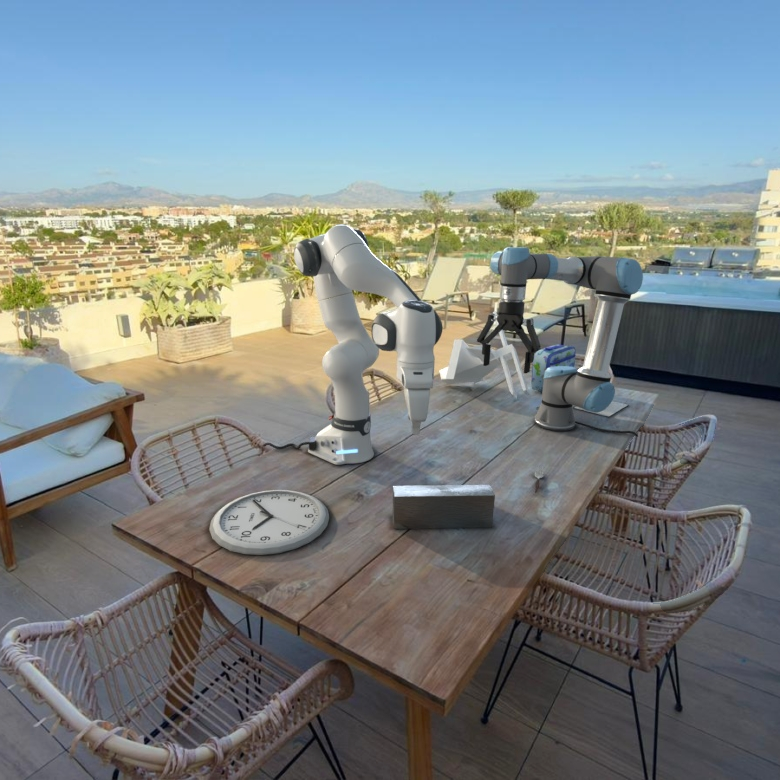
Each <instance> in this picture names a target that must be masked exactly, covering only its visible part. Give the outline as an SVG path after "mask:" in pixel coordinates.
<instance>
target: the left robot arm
mask: <svg viewBox="0 0 780 780" xmlns="http://www.w3.org/2000/svg"><path fill="white" fill-rule="evenodd" d="M293 257H294V258H293V259H294V263H295V266H296V267H297V269H298V271H299V272H300V274H302V275H303V276H305V277H313V284H314V290H315V295H316V300H317V303H318V306H319V310H320V313H321V316H322V320H323V324H324V326H325V327H326V328H327V329H328V330H330V332H331V333H332V334H333V335H334V337H335V339H336V341H337V344H335V345H333V346H332V347H331V348H329V349H328V350H327V351H326V352H325V354H324V355H323V357H322V360H321V365H322V370H323V372H324V374H325V375H326V376H327V377H328V378H330V381H331V384H332V387H333V392H334V409H335V411H334V413H332V415H330V416H329V417H328V421H330V420H331V422H330V423H329V424H328V425H327V426H325V427H324V428H323V429H321V430H320V431H318V432H317V434H316V436H310V438H309V440H308V441H304V442H303V441H302V442H300V443H299V444H298V445H297V444H295V443H287V444H285V445H282V446H278V445H275V444H273V443H271V442H265V443H263V444H262V447H266V446H269V447H272V448H273V449H275V450H284V449H286V448H289V447H293V448H295V449H296V450H299V449H301V447H302V446H306V445H308V449H307V453H309V454H311V455H313V456H315V457H318V458H319V459H322V460H324V461H326V462H329V463H331V464H333V465H335V466H341V465H345V464H348V465H349V464H361V463H365V462H367V461H370V460H371V459H372V458H373V457H374V456H375V452H374V449H373V445H372V440H371V427H372V426H371V425H372V424H371V423H372V422H371V421H372V419H371V413H370V391H369V390H368V388H367V387H366V386H365V382H364V381H365V380H364V376H363V375H364V374H363V373H364V372H365V371H366V370H368V369H370V368H371V367H372V366H373V365H374V364H375V363H376V362H377V360H378V358H379V355H380V350H381V351H383V352H396V354H397V356H396V379H397V381H399V382H400V383H401V386H402V387H403V395H404V400H405V405H406V409H407V419H408V420H409V421H410V422H411V434H412V435H413V436H414V435H416V436H418V435H420V433H421V426H422V425H421V424H422V423H425V422H426V421H427V419H428V412H429V405H430V398H431V397H430V396H431V389H433V388H434V380H435V365H436V363H435V362H436V361H435V360H436V359H435V358H436V357H435V353H434V348H435V346H436V344H437V343H438V342H439V341H440V339H441V337H442V334H443V327H444V326H443V321H442V319H441V317H440V315H439V314H438V313H437V312H436V311H435V310H434V307H433V306H432V305H431V304H430V303H428V302H426V301H423V300H422V299H421V298H420V297H419V296H418V294H417V293H416V292H415V291H414V290H413V289H412V288H411V287H410V285H409V284H408V283H407V282H406V281H405V280H404V279H403V277H401V275H399V273H397V272H396V271H395V270H393V269H392V268H391V267H389V266H388V265H387V264H385V263H383V262H382V261H381V260H380V259H379V258H378V257H376V255H375V254H374V253H373V252H372V251H371V250H370V247H369V242H368V239H367V237H366V235H365V233H364V232H363V231H361V229H358V228H352V227H351V226H349V225H346V224H337V225H334V226H332V227H330V228H329V229H328V230H327V231H326V233H323V234H320V235H317V236H314V237H311V238H303V239H302V240H300V241H298V242H297V243H296V244H295V247H294V251H293ZM353 291H355V292H360V293H368V294H373V295H377V296H380V297H383V298H386V299H388V300H389V301H390V302H391V303H393V304H394V306H395V307H396V308H394V309H392V310H389V311H384V312H382V313H379V314H377V315H376V316H375V318H374V319H373V321H372V325H371V331H370V332H371V333H370V334H371V336H370V334H369V332H368V330H367V329H366V327H365V325H364V323H363V321H362V319H361V316H360V314H359V311H358V306H357V302H356V300H355V296H354V293H353Z"/></svg>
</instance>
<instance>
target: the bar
mask: <svg viewBox="0 0 780 780" xmlns="http://www.w3.org/2000/svg"><path fill="white" fill-rule="evenodd" d="M495 499H496V494H495V492H494V490H493V489H492V487H491V485H490V484H445V485H444V484H441V485H393V486H392V516H391V517H392V528H393V530H417V529H418V530H420V529H422V530H423V529H475V528H476V529H477V528H478V529H480V528H483V529H484V528H485V529H486V528H487V529H488V528H493V523H494V514H495V513H494V512H495V501H496V500H495Z"/></svg>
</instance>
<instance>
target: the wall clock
mask: <svg viewBox="0 0 780 780" xmlns="http://www.w3.org/2000/svg"><path fill="white" fill-rule="evenodd" d="M329 521H330V514H329V509H328V507H327V506H326V505H325V504H324V503H323V502H322V501H321V500H320V499H318V498H317V497H315V496H313V495H310V494H308V493H304V492H301V491H295V490H291V489H290V490H288V489H272V490H270V489H269V490H262V491H258V492H252V493H249V494H246V495H244V496H240V497H238V498H235V499H234V500H231V501H230V502H229V503H226V504H225V505H224V506H223V507H222V508H221V509H219V510H218V511H216V513H215V514H214V516H213V517H212V518H211V521H210V524H209V533H210V536H211V539H212V540H213V541H214V542H215V543H216V544H217V545H218V546H219V547H222V548H224V549H226V550H228V551H230V552H234V553H237V554H243V555H254V556H266V555H274V554H275V555H276V554H281V553H285V552H289V551H292V550H296V549H298V548H301V547H304V546H305V545H307V544H309V543H311V542H313V541H314V540H316V539H317V538H318V537H319V536H321V535H322V534H323V532H324V531H325V530H326V529H327V527H328V525H329Z"/></svg>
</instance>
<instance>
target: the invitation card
mask: <svg viewBox="0 0 780 780" xmlns="http://www.w3.org/2000/svg"><path fill="white" fill-rule="evenodd" d="M628 406H629V404H627V403H623V402H618V401H614V400H612V402H611V403H610V405H609V406H608V407H607V408H606V409H605V410H603V411H601V412H592V411H586V410H584V409H582V408H580V407H577V406H574V407H573V409H575V410H581V411H584V412H587V413H593V414H596V415H600V416H604V417H608V418H609V417H611V416H613V415H614V414H616V413H617V412H619V411H621V410H623V409H624V408H626V407H628Z"/></svg>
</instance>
